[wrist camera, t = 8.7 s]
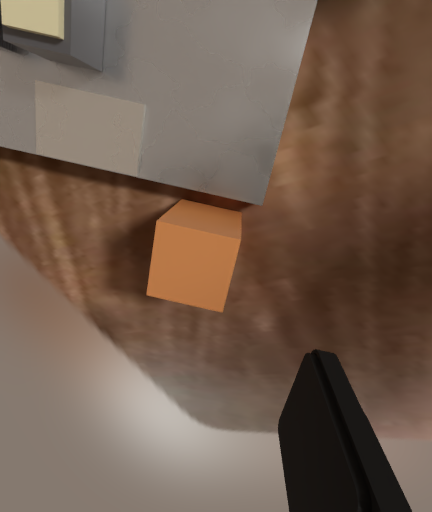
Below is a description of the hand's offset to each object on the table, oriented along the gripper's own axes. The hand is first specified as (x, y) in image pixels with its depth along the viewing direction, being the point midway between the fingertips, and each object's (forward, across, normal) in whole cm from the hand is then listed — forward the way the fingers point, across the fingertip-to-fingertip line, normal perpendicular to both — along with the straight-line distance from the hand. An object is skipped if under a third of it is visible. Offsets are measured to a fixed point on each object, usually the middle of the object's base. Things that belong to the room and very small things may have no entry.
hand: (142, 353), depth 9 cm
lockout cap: (+12, 0, 0) cm, 12 cm away
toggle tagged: (+10, +8, -10) cm, 17 cm away
